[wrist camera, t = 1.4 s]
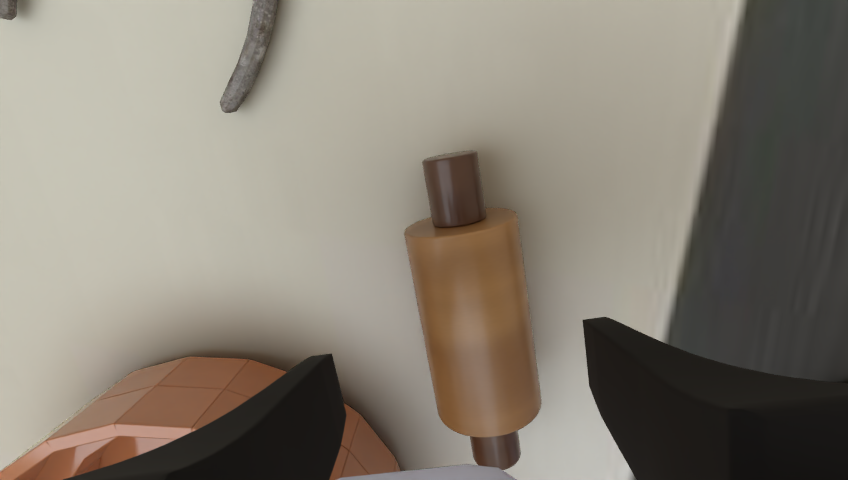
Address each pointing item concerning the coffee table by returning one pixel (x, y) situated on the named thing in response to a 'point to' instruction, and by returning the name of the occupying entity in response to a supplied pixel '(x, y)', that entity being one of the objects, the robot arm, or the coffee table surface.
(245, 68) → the pliers
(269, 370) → the bowl
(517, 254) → the rolling pin
